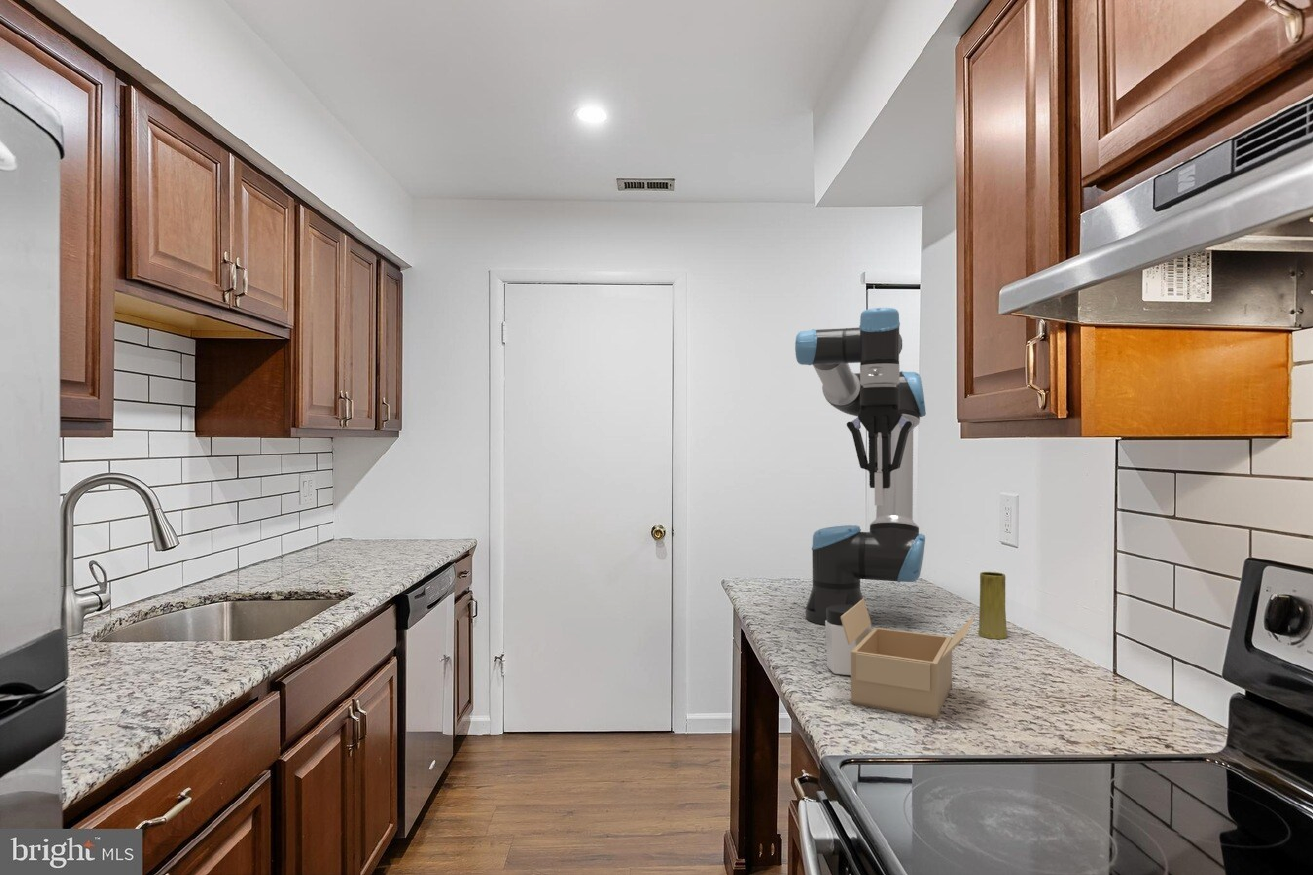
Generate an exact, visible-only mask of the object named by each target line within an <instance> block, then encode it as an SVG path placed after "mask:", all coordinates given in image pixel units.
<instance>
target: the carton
mask: <svg viewBox="0 0 1313 875" xmlns="http://www.w3.org/2000/svg"><path fill="white" fill-rule="evenodd" d="M952 638H953V636H946V635H941V634H940V635H938V634H931V633H923V632H914V631H906V630H898V629H890V628H882V627H873V628H872V629H871V632H870V633H869V634H868V635H867V636H866V637H865V638H864V639H863V640H862V641H861V642H860V643H859V644H858V645H857V646H856V647H855V648H854V649H853V650H852V651H851V675H850V704H851V705H856V706H861V707H867V708H872V709H878V710H883V711H889V712H894V713H900V714H905V715H912V716H917V717H921V718H923V717H924V718H930V719H934V720H935V719H936V720H938V718H939V715H940V713H941V711H942V709H943V707H944V705H945V702H946V700H947V698H948V695H949V693H950V691H951V689H952V687H953V650H952V651H951V652H950V653H949V654H948V655H947V656H946V657H945V658H944V659H943V658H942V656H943V654H944V653H945V651H946V649H947V647H948V645H949V644H950V642H951V640H952Z"/></svg>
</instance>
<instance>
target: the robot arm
mask: <svg viewBox="0 0 1313 875" xmlns="http://www.w3.org/2000/svg"><path fill="white" fill-rule="evenodd" d="M899 313H900V312H899V311H898V309H896V308H893V307H878V308H877V307H873V308H868V309H865V310H863V311H862V312H861V313H860V319H859V327H847V328H846V327H845V328H829V329H828V328H827V329H825V328H823V329H821V328H820V329H815V328H813V329H810V330H802V331H798V333H797V334H796V336H795V343H794V350H795V358H796V361H797V363H798V364H799V365H803V366H804V365H805V366H813V369H814V371H815V372H816V374H817V375H818V377H819V380H820V382H821V384H822V387H821V388H822V389H821V390H822V394H823V397H824V398H825V400H826V402H828V404H829V405H830V406H832V407H833V408H835V409H837V410H839V411H840V412H842V413H844V414H847V415H850V416H852V417H853V416H854V417H856V418H854V419H853V420H851V421H847V422H846V427H847V428H848V430H849V431H850V433H851V436H852V440H853V444H854V449H855V452H856V456H857V460H858V464H859V468H860V469H861V470H862V469H863V470H865V471H868V473H869V476H868V477H869V483H868V484H869V488H871V489H874V506H876V511H875V512H876V515H875V516H876V518H875V519H874V520H873V521H872V522H870V524H869V531H861V530H862V529H861V527H860V526H859V525H856V524H855V525H853V524H847V525H846V524H845V525H834V526H829V527H823V528H819V529H817V530H816V531H814V533H813V535H812V547H811V551H812V588H811V591H810V595H809V597H808V601H807V602H806V603H807V604H806V607H805V619H806V620H807V621H809V622H811V623H814V624H819V625H824V626H825V620H827V616H826V608H827V607H829V606H833V605H845V604H847V605H856V604H857V603H858V602H859V601H861V600H862V599H864V597H863V594H862V591H861V580H868V581H883V582H886V581H887V582H897V583H904V582H905V583H914V582H916V581H917V580H919V578H920V576H921V571H922V568H923V567H922V566H923V560H924V553H925V545H926V535H924V534H923V533H920V526H919V525H918V524H917V523H916V522H915V521H914V520H913V519H914V518H913V517H914V516H913V514H914V512H913V511H914V510H913V509H914V508H913V505H914V504H913V503H914V501H913V500H914V491H913V490H914V430H915V428H916V427H918V425H920V423H921V422H920V420H921V418H922V417H925V416H926V414H927V413H926V404H925V396H924V389H923V384H922V383H923V382H922V377H921V375H920V374H919V373H918V372H916V371H903V370H900V354H901V353H902V350H903V338H902V336H901V334H900V326H901V322H900V314H899ZM854 363H855V364H857V363H859V365H860V366H859V370H860V371H859V372H858V373H854V372H853V371H852V369H851V367H850V365H849V364H854ZM861 425H862V426H863V427H864V428H865V430H866V431H867V434H868V436H867V437H868V457H867V452H866V449H865V444H864V441H863V436H862V432H861Z"/></svg>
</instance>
